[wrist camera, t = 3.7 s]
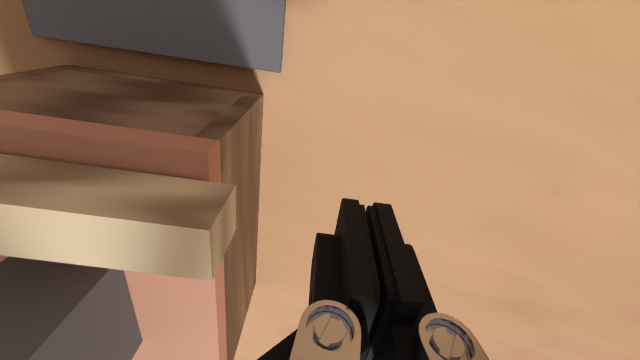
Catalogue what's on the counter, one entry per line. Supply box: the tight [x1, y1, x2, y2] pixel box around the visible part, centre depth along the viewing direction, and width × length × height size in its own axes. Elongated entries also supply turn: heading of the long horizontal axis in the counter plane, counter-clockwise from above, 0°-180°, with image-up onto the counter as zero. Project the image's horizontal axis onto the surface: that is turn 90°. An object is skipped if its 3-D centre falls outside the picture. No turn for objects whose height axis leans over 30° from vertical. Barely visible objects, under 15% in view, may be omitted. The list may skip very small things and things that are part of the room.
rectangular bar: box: [0, 154, 236, 281], centre depth 9 cm, size 14×2×2 cm, turn 82°
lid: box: [0, 110, 227, 360], centre depth 12 cm, size 12×17×7 cm
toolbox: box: [0, 65, 263, 360], centre depth 18 cm, size 12×17×8 cm
